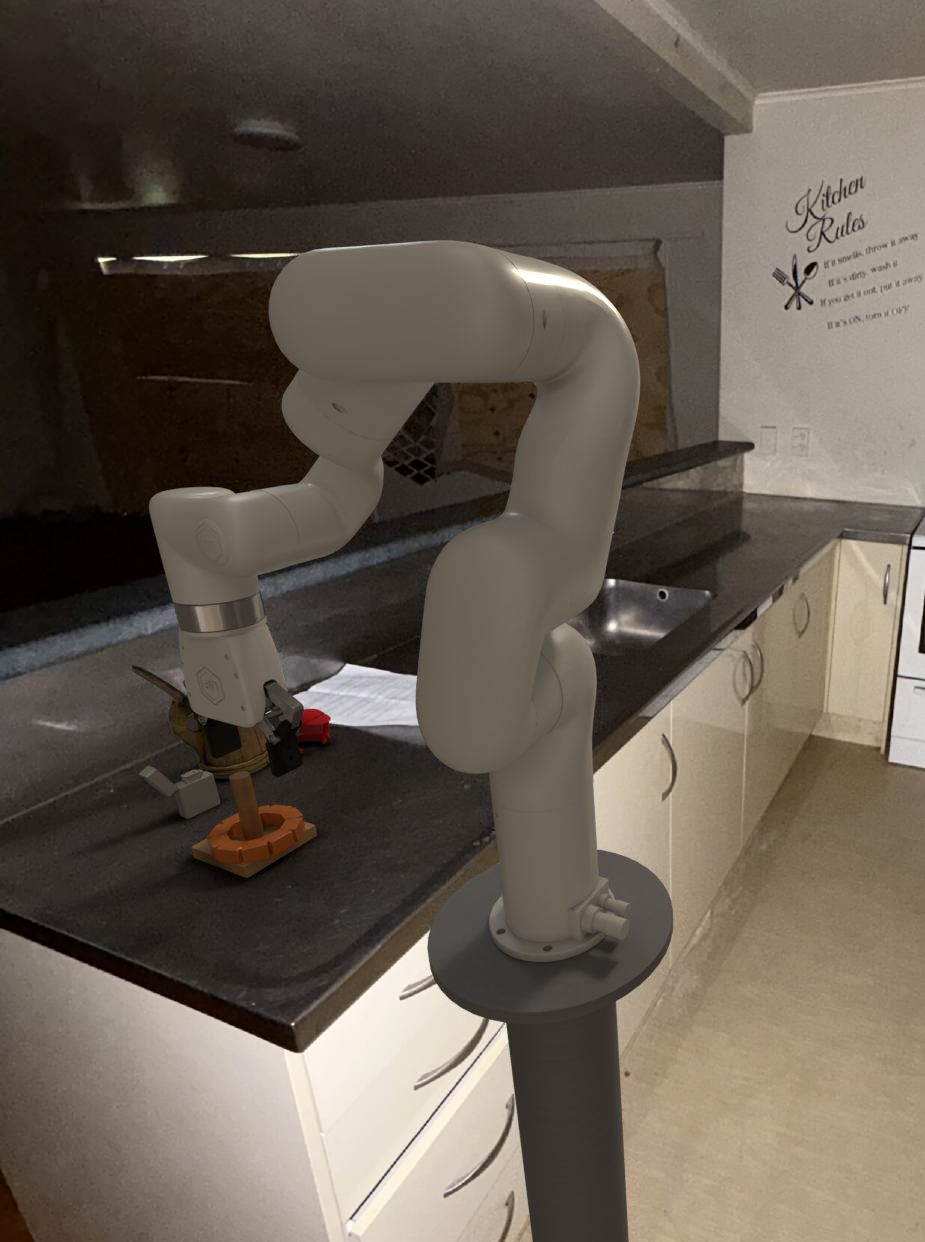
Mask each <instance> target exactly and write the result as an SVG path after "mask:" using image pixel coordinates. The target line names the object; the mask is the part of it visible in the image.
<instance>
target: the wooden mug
mask: <svg viewBox="0 0 925 1242" xmlns="http://www.w3.org/2000/svg"><path fill="white" fill-rule="evenodd" d="M131 671H132V672H133V673H134V674H136V675H137V676H139V677H141V678H142V679H143V680H145V681H147V682H149V683H151V684H152V685H153V686H155V687H157V688H159V689H160V690H161V691H163V692H164V693H166V694H167V695H169V696H170V697H172V699H171V704H170V706H169V709H168V710H169V712H168V719H169V726H170V728H171V730H172V731H173V733H174V735H175V736H177V738H179V739H180V740H181V741H182V742H184V743H185V744H186V745H188V746H189V747H191V748H192V749H193V750H194V751H195V752H196V754H197V756H198V761H197V762H198V770H203V772H204V771H207V772H210V773H212V774H213V776H214V780H215V781H216V780H218V781H219V780H220V781H221V780H222V781H223V780H230V779H229V777H230V776H231V775H232V774H234V773H237V772H241V771H247V772H249V773H250V775H251V774H255V773H257V772H259V771H261V770H262V769H264V768H266V767H267V766H269V765H270V762H269V758H268V754H267V749H266V745H265V744H266V743H268V742H269V741H267V739H266V736H265V734H264V733H263V732H262V730H261V729H260V728H259V726H258V725H257V724H256V725H255V726H253V727H250V728H246V727H241V726H237V727H238V731H239V735H240V739H241V743H242V747H241V748H240V749H238V750H236V751H234V752H232V753H229V754H227V755H225V756H223V757H220V758H218V759H216V758H213V757H211V753H210V750H209V746H208V742H207V738H206V734H205V730H204V727H203V726H206V725H207V724H205V725H203V724H201V723H200V721H199V719H198V716H199V714H197V713H195V712H194V711H193V710H192V708H191V706H190V702H189V698H188V695H186V694H185V693H184V692H182V691H181V690H179V689H178V688H176V687H175V686H173V685H172V684H171V683H169V682H167V681H166V680H164V679H163V678H162V677H160V676H158V675H157V674H154V673H153V672H152V671H149V670H147V669H146V668H144V667H142V666H137V665H133V664H132V665H131ZM191 715H192V720H194V721H195V722H196V725H197V730H191V729H190V728H189V727H188V725H187V719H188V717H190V716H191Z"/></svg>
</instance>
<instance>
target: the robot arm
mask: <svg viewBox="0 0 925 1242" xmlns="http://www.w3.org/2000/svg"><path fill="white" fill-rule="evenodd" d="M268 318H269V319H268V320H269V325H270V326H269V327H270V330H271V333H272V336H273V338H274V342H275V343H276V345H277V346H278V349H280V352H281V353H282V354H283V355H284V356H285V358H287V360H288V361H289V362H290V363H291V364H292V365H294V367H296V368H297V369H298V370H297V372H296V374H295V375H294V377H293V379H292V380H291V382H290V383H289V385H288V386H287V388H286V389H285V391H284V392H283V395H282V398H281V412H282V413H281V414H282V417H283V419H284V420H285V423H286V424H287V425H286V426H287V427H288V428H289V429H290V431H291V432H292V433H293V434H294V436H296V439H298V440H299V441H300V442H301V443H302V444H304V446H306V448H308V449H309V450H310V451H312V452H313V453H315V454H316V455H318V458H317V459H316V461H315V462H314V464H313V465H312V466H311V468H310V469H309V471H308V472H307V473H306V475H305V476H304V477H303V478H302V479H301V480H300V481H299V482H298V483H292V484H284V485H277V486H273V487H272V486H271V487H266V488H260V489H253V490H249V491H244V492H238V493H237V492H236V493H235V492H234V491H232V490H231V489H229V488H228V489H227V488H224V487H217V486H214V487H213V486H194V487H181V488H174V489H167V490H163V491H160V492H158V493H156V494H154V495H153V496H152V497H151V498H150V500H149V503H148V511H149V516H150V520H151V523H152V527H153V531H154V535H155V539H156V544H157V546H158V551H159V554H160V558H161V562H162V566H163V570H164V573H165V578H166V581H167V585H168V589H169V593H170V596H171V600H172V604H173V609H174V612H175V616H176V619H177V623H178V647H179V656H180V662H181V663H180V665H181V669H182V675H183V679H184V680H182V685H183V687H184V688H185V691H186V694H187V696H188V698H189V702H190V706H191V708H192V710H193V711H194V712H195V713H197V714H199V716H198V719H199V721H200V723H201V724H203V725H205V724H207V725H206V726H203V727H204V730H205V734H206V738H207V742H208V746H209V750H210V753H211V757H213V758H216V759H218V758H220V757H223V756H225V755H227V754H229V753H232V752H234V751H236V750H238V749H240V748H241V747H242V743H241V739H240V735H239V731H238V727H237V726H241V727H246V728H250V727H253V726H255V725H256V724H257V725H258V726H259V728H260V729H261V730H262V732H263V734H264V737H265V738H267V740H268V741H267V742H268V743H266V744H265V745H266V749H267V754H268V758H269V762H270V763H269V767H270V770H271V771H270V772H271V775H272V776H273V777H276V778H280V777H283V776H284V775H287V774H288V773H290V772H292V771H294V770H296V769H299V768H300V767H301V766H302V765H303V758H302V754H301V753H300V749H299V748H300V744H299V742H298V739H297V736H298V734H299V733H300V730H299V728H300V727H301V725H302V720H301V719H302V715H303V710H304V709H305V707H304V704H303V703H302V702H301V701H300V700H298V699H297V698H296V697H295V696H293V695H292V694H291V693H289V690H288V685H287V680H286V677H285V672H284V669H283V666H282V662H281V660H280V656H279V652H278V650H277V647H276V644H275V642H274V639H273V636H272V633H271V631H270V629H269V626H268V625H267V624H266V623H267V622H268V619H267V615H266V610H265V604H264V601H263V597H262V596H263V595H262V591H261V586H260V582H259V578H258V577H259V575H264V574H268V573H271V572H275V571H279V570H282V569H285V568H289V567H291V566H295V565H298V564H302V563H306V562H310V561H312V560H313V561H314V560H315V559H316V560H317V559H319V558H324V557H327V556H330V555H331V554H334V553H335V552H337V551H339V550H341V549H342V548H343V547H344V546H345V545H347V544H348V542H350V540H352V539H353V537H355V535H356V534H357V533H358V532H359V530H360V529H361V528H362V526H364V524H365V523H366V521H368V518H370V516H371V515H372V514H373V512H374V510H375V509H376V508H377V506H378V503H379V502H380V500H381V497H382V492H383V486H384V476H385V472H384V471H385V469H384V461H383V457H382V455H383V453H384V452H385V451H386V449H387V448H388V447H389V445H390V444H391V443H392V441H393V440H394V438H395V437H396V436H397V434H398V433H399V432H400V430H401V429H402V428H403V426H404V425H405V423H406V422H407V421H408V419H409V418H410V417H411V415H412V414H413V413H414V412H415V410H416V408H418V406H419V405H420V403H421V402H422V401H423V399H424V398H425V396H426V395H427V394H428V393H429V391H430V390H431V388H432V387H433V386H434V384H435V383H441V384H442V383H445V384H447V383H448V384H449V383H450V384H451V383H453V384H488V383H489V384H490V383H491V384H494V383H495V384H496V383H499V384H500V383H532V384H533V385H534V386H535V387H536V398H535V402H534V403H533V406H532V409H531V410H530V413H529V415H528V417H527V419H526V420H525V423H524V425H523V427H522V430H521V432H520V435H519V437H518V442H517V446H516V449H515V455H514V463H513V465H514V466H513V473H512V478H511V479H512V480H511V485H510V489H509V494H508V499H507V502H506V505H505V508H504V511H503V512H502V513H501V514H500V515H499V516H498V517H497V518H493V519H490V520H486V521H484V522H481V523H478V524H475V525H473V526H472V525H471V526H470V527H468V528H466V529H464V530H463V531H461V532H459V533H457V534H456V535H455V536H453V537H452V538H451V539H450V540H449V541H448V542H447V543H446V544H445V545H444V547H443V548H442V549H441V551H440V552H439V553H438V556H437V557H436V559H435V561H434V563H433V565H432V568H431V570H430V573H429V577H428V579H427V584H426V588H425V594H424V603H423V604H424V605H423V613H422V623H421V633H420V643H419V651H418V652H419V653H418V661H417V671H416V674H417V675H416V681H415V682H416V684H415V712H416V713H415V714H416V721H417V724H418V728H419V731H420V734H421V736H422V738H423V741H424V742H425V744H426V746H427V748H428V749H429V750H430V752H431V754H432V755H433V756H434V757H435V758H437V760H438V761H439V762H441V763H442V764H443V765H445V766H446V767H448V768H450V769H451V770H454V771H456V772H460V773H464V774H468V775H469V774H470V775H479V774H480V775H482V774H487V773H488V778H489V779H488V780H489V788H490V789H489V790H490V799H491V806H492V807H491V808H492V817H493V825H494V835H495V843H496V852H497V861H498V864H499V870H500V879H501V888H502V896H501V897H500V898H499V899H498V900H497V902H496V903H495V905H494V906H493V908H492V910H491V913H490V917H489V928H490V934H491V937H492V940H493V942H494V943H495V944H496V946H497V947H498V948H499V949H500V950H502V951H503V952H504V953H506V954H508V955H510V956H512V957H514V958H517V959H520V960H524V961H531V962H552V961H558V960H564V959H567V958H570V957H573V956H576V955H578V954H581V953H583V952H585V951H587V950H589V949H590V948H592V947H593V946H595V945H596V944H598V943H599V942H600V941H601V940H602V939H603V938H604V937H605V936H606V935H608V936H611V937H614V938H617V939H620V940H624V939H625V938H626V937H627V935H628V933H629V929H630V921H629V920H628V919H624V918H621V917H618V916H616V914H617V915H620V916H623V917H627V916H628V915H629V914H630V911H631V904H629V903H626V902H623V901H620V900H615V898H614V895H613V893H612V892H611V890H610V889H609V884H608V879H606V878H603V877H600V876H599V871H598V854H597V849H598V838H597V823H596V805H595V790H594V783H595V782H594V763H593V728H594V717H595V710H596V709H595V708H596V700H597V685H598V683H597V681H598V677H597V667H596V661H595V658H594V657H595V656H594V655H593V652H592V650H591V647H590V645H589V644H588V642H587V640H586V639H585V637H583V635H582V634H581V633H580V632H579V631H578V630H577V629H576V628H575V627H573V626H571V624H568V623H567V622H569V621H571V620H572V619H574V618H575V617H577V616H579V614H581V613H582V612H584V611H585V610H586V609H588V608H589V607H590V605H592V604H593V603H594V601H595V600H596V599H597V597H598V595H599V594H600V591H601V590H602V586H603V585H604V581H605V576H606V571H607V566H608V559H609V554H610V550H611V544H612V540H613V534H614V530H615V525H616V520H617V515H618V509H619V505H620V500H621V493H622V487H623V481H624V476H625V471H626V467H627V461H628V457H629V454H630V453H629V452H630V449H631V443H632V440H633V434H634V432H635V431H634V430H635V426H636V422H637V420H636V419H637V415H638V411H639V403H640V395H641V394H640V393H641V370H640V369H641V368H640V362H639V357H638V356H639V355H638V351H637V348H636V345H635V341H634V338H633V336H632V333H631V331H630V329H629V327H628V325H627V323H626V322H625V320H624V318H623V316H622V315H621V313H620V312H619V311H618V309H617V308H616V306H614V304H613V303H612V301H610V299H608V297H607V296H606V295H605V294H603V292H602V291H601V290H600V289H598V288H597V287H596V286H595V285H594V284H593V283H591V282H590V281H588V280H587V279H585V278H584V277H582V276H580V275H579V274H577V273H575V272H574V271H571V270H569V269H567V268H565V267H562V266H559V265H556V264H554V263H551V262H548V261H546V260H543V259H542V260H541V259H538V258H535V257H531V256H527V255H521V254H517V253H514V252H510V251H506V250H502V249H498V248H495V247H490V246H488V245H483V244H478V243H474V242H469V241H461V240H452V239H451V240H450V239H445V240H443V239H442V240H441V239H440V240H439V239H437V240H422V241H421V240H420V241H408V242H395V243H383V244H371V245H370V244H369V245H357V246H338V247H337V246H336V247H325V248H324V247H323V248H317V249H312V250H309V251H306V252H304V253H301V254H299V255H298V256H296V257H294V258H293V259H291V260H290V261H289V262H288V263H287V264H286V265H285V266H284V267H283V268H282V270H280V272H279V274H278V275H277V277H276V279H275V281H274V283H273V285H272V288H271V290H270V295H269V300H268ZM265 711H269V712H266V713H265ZM275 719H278V720H279V724H278V725H277V727H276V728H275V727H274V726H273V725H272V723H271V722H270V721H273V720H275Z"/></svg>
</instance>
